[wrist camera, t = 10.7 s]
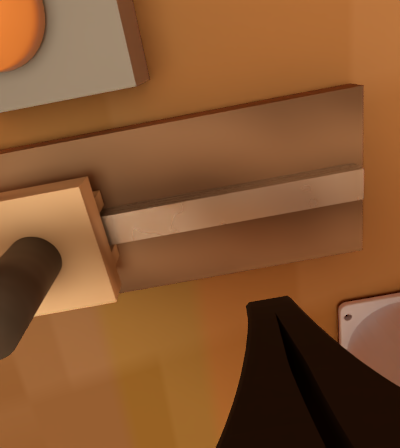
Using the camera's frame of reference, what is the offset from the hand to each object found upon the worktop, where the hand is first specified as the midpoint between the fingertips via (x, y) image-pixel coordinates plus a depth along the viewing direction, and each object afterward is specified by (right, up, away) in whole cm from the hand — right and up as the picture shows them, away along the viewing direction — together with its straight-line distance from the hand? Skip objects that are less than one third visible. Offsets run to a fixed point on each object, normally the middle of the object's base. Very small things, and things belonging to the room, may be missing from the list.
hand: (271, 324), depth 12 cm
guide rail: (-5, +4, +8) cm, 10 cm away
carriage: (-10, +3, +8) cm, 13 cm away
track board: (-5, +4, +9) cm, 11 cm away
